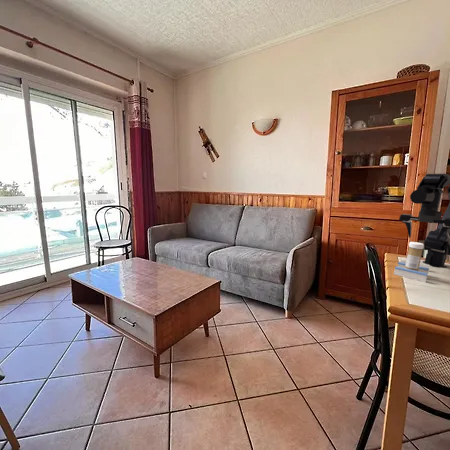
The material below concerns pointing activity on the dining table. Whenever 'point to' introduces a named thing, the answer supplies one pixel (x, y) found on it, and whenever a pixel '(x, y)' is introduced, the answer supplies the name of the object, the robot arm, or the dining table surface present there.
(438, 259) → the robot arm
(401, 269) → the rail comb
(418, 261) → the sprinkles bottle
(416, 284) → the dining table surface
